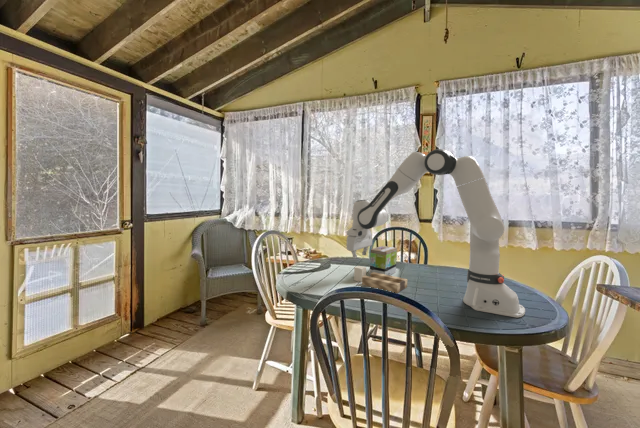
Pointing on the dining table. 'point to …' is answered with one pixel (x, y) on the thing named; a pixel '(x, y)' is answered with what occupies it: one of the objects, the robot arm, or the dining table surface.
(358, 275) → the block
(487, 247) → the robot arm
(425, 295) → the dining table surface
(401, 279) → the trough
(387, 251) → the tea box
